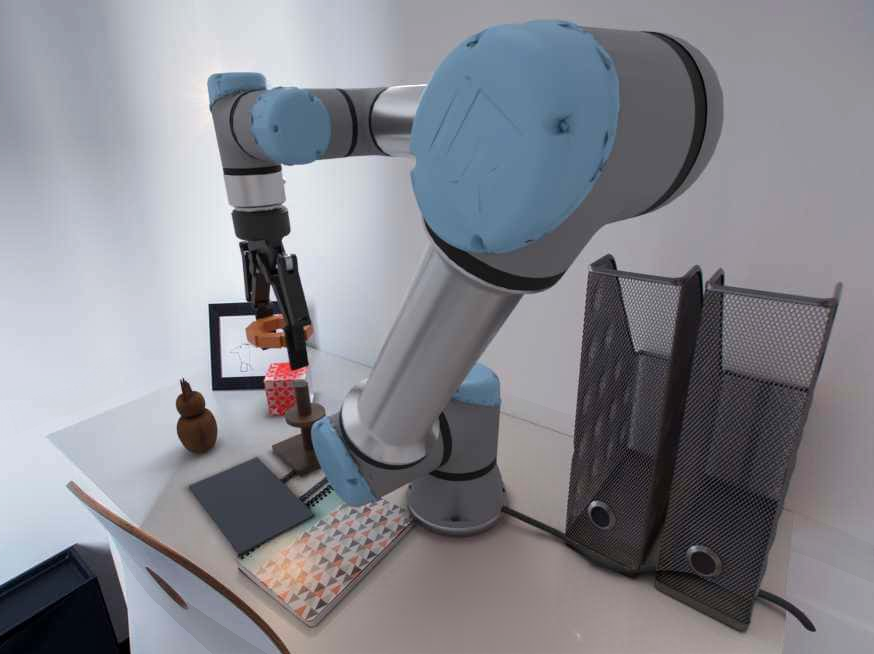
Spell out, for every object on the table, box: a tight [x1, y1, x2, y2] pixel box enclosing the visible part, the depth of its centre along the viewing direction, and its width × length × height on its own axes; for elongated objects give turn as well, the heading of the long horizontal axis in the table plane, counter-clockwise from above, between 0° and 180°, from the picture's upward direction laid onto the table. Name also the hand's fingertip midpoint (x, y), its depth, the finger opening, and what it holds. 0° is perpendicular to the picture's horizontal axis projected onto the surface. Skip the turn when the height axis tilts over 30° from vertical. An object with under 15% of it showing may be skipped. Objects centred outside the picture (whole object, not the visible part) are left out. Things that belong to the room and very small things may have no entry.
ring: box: [244, 313, 314, 349], centre depth 80 cm, size 9×9×2 cm
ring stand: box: [271, 381, 327, 478], centre depth 91 cm, size 10×10×14 cm
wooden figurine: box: [175, 377, 219, 455], centre depth 93 cm, size 7×6×15 cm
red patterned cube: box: [263, 361, 315, 417], centre depth 108 cm, size 8×8×8 cm
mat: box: [188, 457, 316, 556], centre depth 83 cm, size 20×12×1 cm, turn 40°
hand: (284, 357), depth 83 cm, fingers closed on ring, 9 cm apart
